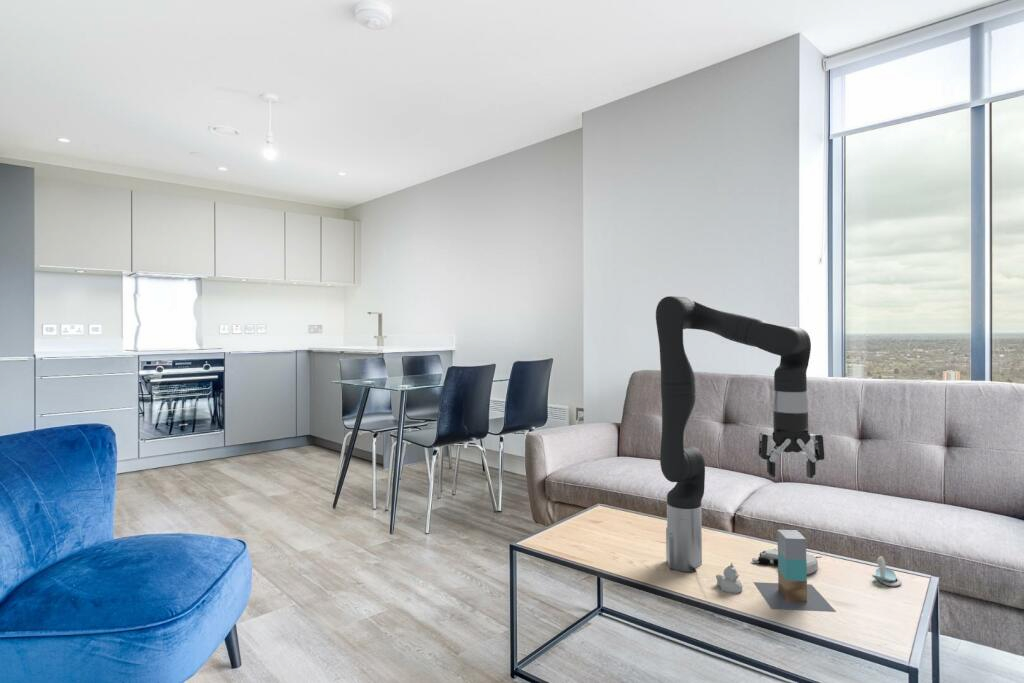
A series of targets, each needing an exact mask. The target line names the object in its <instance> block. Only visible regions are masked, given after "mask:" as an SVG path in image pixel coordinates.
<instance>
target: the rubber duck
mask: <svg viewBox="0 0 1024 683" xmlns="http://www.w3.org/2000/svg"><path fill="white" fill-rule="evenodd" d="M724 568H725V567H724ZM739 576H740V574H739V573H738V571H737V570H736V567H735V566H734V564H733V562H731V563H730V564H729V565H728V566H727V567H726V568H725V569H724V570H723V574H721V573H719V574H718V573H717V574H716V575H715V578H716V580H717V581H716V585H717V586H719V587H720V589H721V591H722V592H726V593H730V594H739V593H742V591H743V585H742V582H741V580H740V579H739Z"/></svg>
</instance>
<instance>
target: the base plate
mask: <svg viewBox="0 0 1024 683" xmlns="http://www.w3.org/2000/svg"><path fill="white" fill-rule="evenodd" d="M753 584H754V586H756V588H757V590H758V591H759V593H760V594H761V596H762V597H763V598H764V600H765V601H766V603H767V605H768V606H769V607H770V609H771V610H786V611H787V610H788V611H810V612H811V611H812V612H831V613H832V612H833V613H836V612H837V610H835V609H834V608H833V606H832V605H831V604H830V603H829V602H828V601H827V599H825V597H824V596H823V595H822V594H821V593H820V592H819V591H818V590H817V589H816V587H814V585H812V584H808V583H807V602H788V601H786V599H785V598H784V597H783V595H782V594H781V593H780V591H779V590H778V582H755V581H754V582H753Z"/></svg>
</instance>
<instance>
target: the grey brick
mask: <svg viewBox="0 0 1024 683" xmlns="http://www.w3.org/2000/svg"><path fill="white" fill-rule="evenodd" d="M777 550H778V551H779V552H780V553H781V554H782V555H783V556H784V558H785V559H788V560H806V554H807V538H806V537H804V535H803V534H802V533H801V532H799V531H798V530H797V529H777Z"/></svg>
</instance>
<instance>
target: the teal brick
mask: <svg viewBox="0 0 1024 683" xmlns="http://www.w3.org/2000/svg"><path fill="white" fill-rule="evenodd" d="M778 570H779V571H780V573H781V574H782V575H783V577H784V578H785V579H786V580H789V581H807V582H808V579H807V578H808V575H807V560H788V559H785V558H784V556H783V555H782V554H781V553H780V552H779V551H778V568H777V571H778Z"/></svg>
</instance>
